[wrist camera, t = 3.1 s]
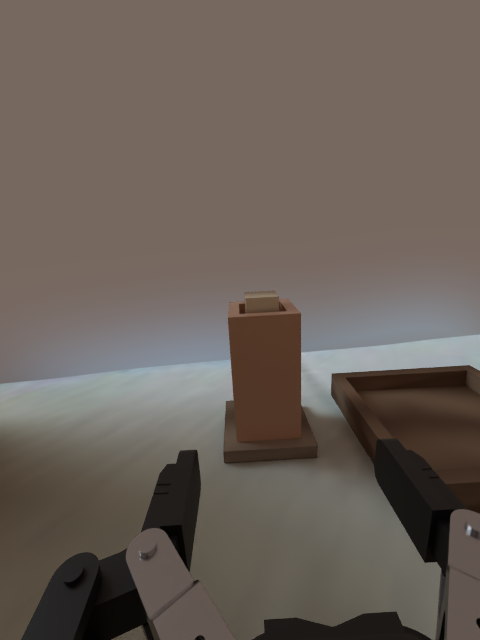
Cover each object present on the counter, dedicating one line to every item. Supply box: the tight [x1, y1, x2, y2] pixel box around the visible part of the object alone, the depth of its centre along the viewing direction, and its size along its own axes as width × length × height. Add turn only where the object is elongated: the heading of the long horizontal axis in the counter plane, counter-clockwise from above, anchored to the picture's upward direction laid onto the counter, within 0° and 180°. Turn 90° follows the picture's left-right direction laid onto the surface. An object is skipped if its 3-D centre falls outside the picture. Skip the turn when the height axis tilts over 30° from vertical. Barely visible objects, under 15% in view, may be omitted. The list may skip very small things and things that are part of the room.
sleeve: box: [228, 299, 301, 442], centre depth 24 cm, size 5×5×10 cm
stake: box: [223, 291, 317, 463], centre depth 24 cm, size 7×7×12 cm
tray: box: [331, 365, 480, 514], centre depth 23 cm, size 14×14×2 cm
